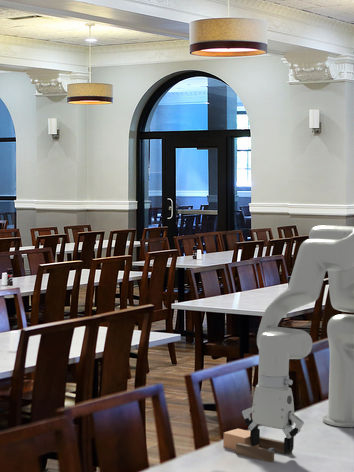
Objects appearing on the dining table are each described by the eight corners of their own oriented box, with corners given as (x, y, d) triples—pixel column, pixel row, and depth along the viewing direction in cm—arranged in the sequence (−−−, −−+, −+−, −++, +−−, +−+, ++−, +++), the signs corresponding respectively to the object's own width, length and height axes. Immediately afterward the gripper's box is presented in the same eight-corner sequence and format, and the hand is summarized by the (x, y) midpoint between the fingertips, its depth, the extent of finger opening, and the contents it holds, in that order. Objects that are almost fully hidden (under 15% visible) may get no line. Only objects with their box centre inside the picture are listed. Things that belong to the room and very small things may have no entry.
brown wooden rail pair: (257, 445, 224) (257, 433, 224) (292, 453, 218) (292, 440, 218) (235, 453, 216) (235, 441, 216) (271, 462, 210) (271, 449, 210)
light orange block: (237, 443, 227) (238, 428, 227) (258, 448, 222) (259, 433, 222) (223, 447, 223) (223, 432, 222) (244, 453, 218) (244, 438, 218)
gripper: (311, 384, 213) (309, 452, 213) (252, 374, 223) (250, 439, 224) (296, 389, 207) (294, 459, 207) (236, 378, 217) (234, 445, 218)
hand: (271, 448), depth 216 cm, fingers open, 9 cm apart
